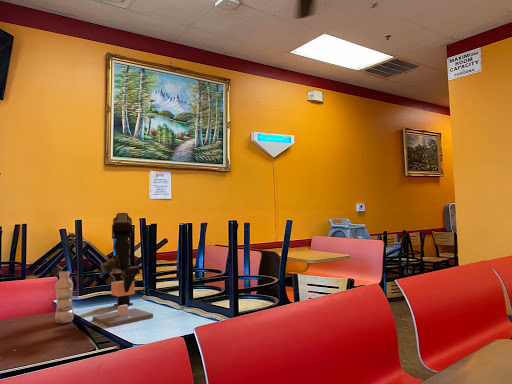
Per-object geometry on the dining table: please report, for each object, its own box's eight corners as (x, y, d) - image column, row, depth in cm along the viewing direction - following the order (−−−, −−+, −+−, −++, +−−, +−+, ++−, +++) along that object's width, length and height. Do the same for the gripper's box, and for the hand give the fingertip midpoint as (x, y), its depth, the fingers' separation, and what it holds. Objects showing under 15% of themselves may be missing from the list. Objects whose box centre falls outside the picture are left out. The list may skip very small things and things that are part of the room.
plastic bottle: (68, 324, 149) (68, 272, 150) (51, 325, 149) (51, 273, 151) (76, 320, 156) (76, 270, 157) (60, 321, 156) (60, 270, 157)
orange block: (111, 294, 156) (111, 281, 157) (127, 292, 161) (127, 279, 161) (118, 296, 152) (118, 283, 152) (134, 293, 156) (134, 281, 157)
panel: (92, 320, 155) (92, 306, 155) (134, 311, 168) (134, 299, 168) (109, 327, 144) (109, 312, 144) (153, 317, 156) (152, 304, 157)
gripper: (93, 253, 159) (93, 291, 157) (112, 255, 145) (113, 297, 144) (119, 250, 166) (119, 287, 165) (140, 252, 153) (140, 292, 152)
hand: (122, 291), depth 156 cm, fingers closed on orange block, 6 cm apart
